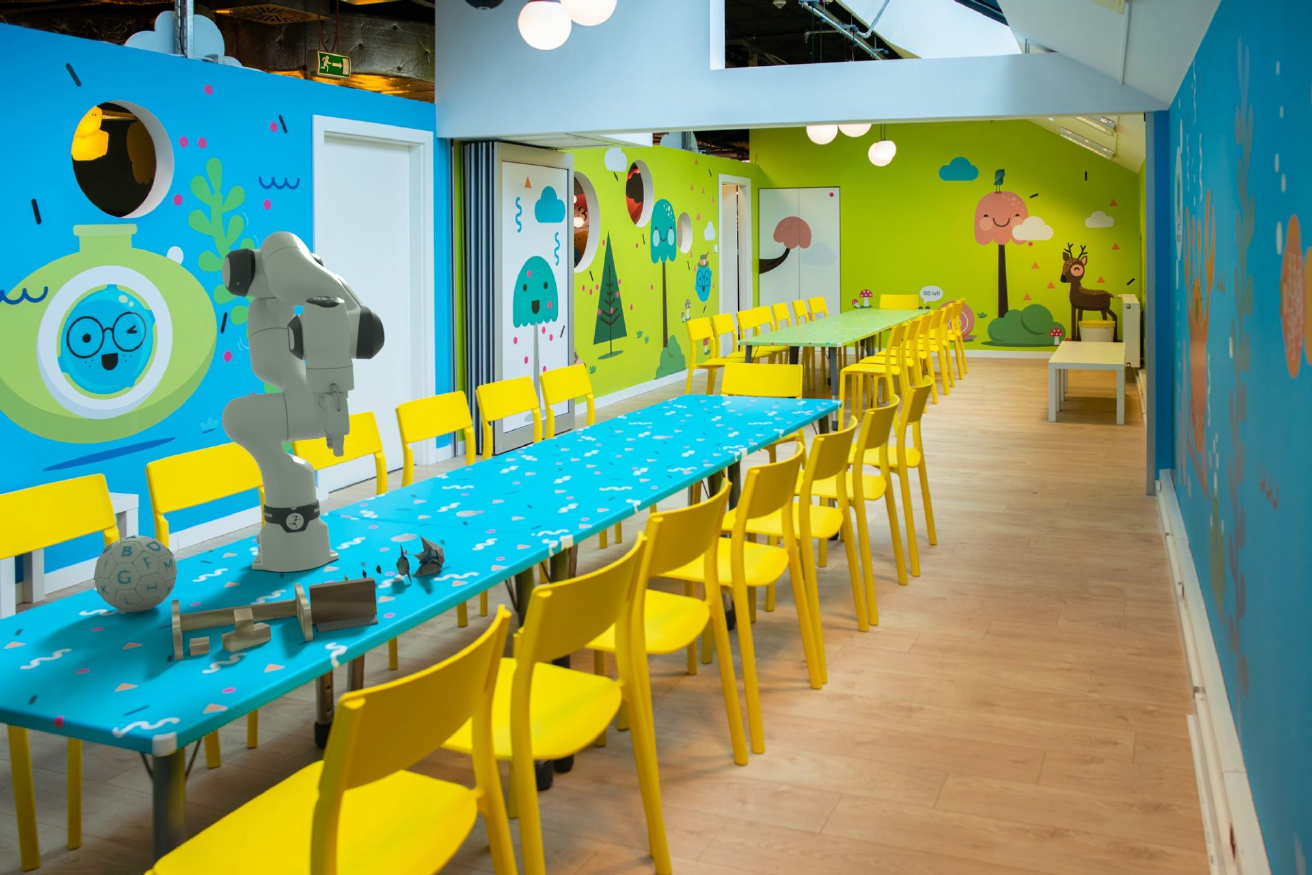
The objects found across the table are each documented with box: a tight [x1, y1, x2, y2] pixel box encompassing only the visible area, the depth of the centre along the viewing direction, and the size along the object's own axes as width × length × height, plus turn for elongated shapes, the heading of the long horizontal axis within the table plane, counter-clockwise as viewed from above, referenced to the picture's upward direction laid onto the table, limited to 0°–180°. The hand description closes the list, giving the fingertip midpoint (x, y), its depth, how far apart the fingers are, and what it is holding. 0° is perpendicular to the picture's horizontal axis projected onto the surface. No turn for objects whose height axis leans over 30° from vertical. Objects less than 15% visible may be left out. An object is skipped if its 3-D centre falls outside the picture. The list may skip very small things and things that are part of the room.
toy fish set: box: [343, 543, 443, 584], centre depth 241 cm, size 11×25×9 cm, turn 123°
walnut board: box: [308, 576, 378, 625], centre depth 219 cm, size 2×12×7 cm, turn 113°
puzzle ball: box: [93, 534, 178, 613], centre depth 227 cm, size 15×15×15 cm
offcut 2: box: [234, 608, 255, 637], centre depth 207 cm, size 3×7×3 cm, turn 22°
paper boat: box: [403, 536, 446, 578], centre depth 252 cm, size 12×6×9 cm
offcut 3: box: [221, 622, 273, 653], centre depth 207 cm, size 3×8×3 cm, turn 142°
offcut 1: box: [189, 636, 210, 656], centre depth 205 cm, size 4×3×2 cm
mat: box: [314, 615, 379, 633], centre depth 220 cm, size 10×11×1 cm
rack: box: [171, 583, 314, 661], centre depth 212 cm, size 17×23×6 cm
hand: (335, 452), depth 223 cm, fingers open, 8 cm apart
